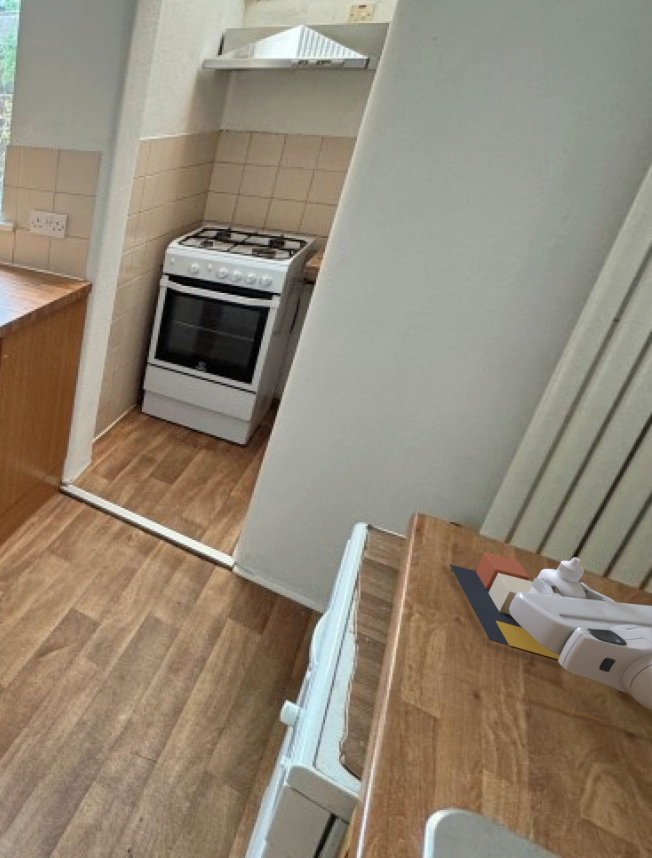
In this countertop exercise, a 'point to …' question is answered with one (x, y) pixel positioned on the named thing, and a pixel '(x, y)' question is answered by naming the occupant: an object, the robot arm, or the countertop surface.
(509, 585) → the cream cube
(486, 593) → the word mat
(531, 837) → the countertop surface
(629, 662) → the robot arm
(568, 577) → the eye dropper bottle
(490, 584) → the terracotta letter block
